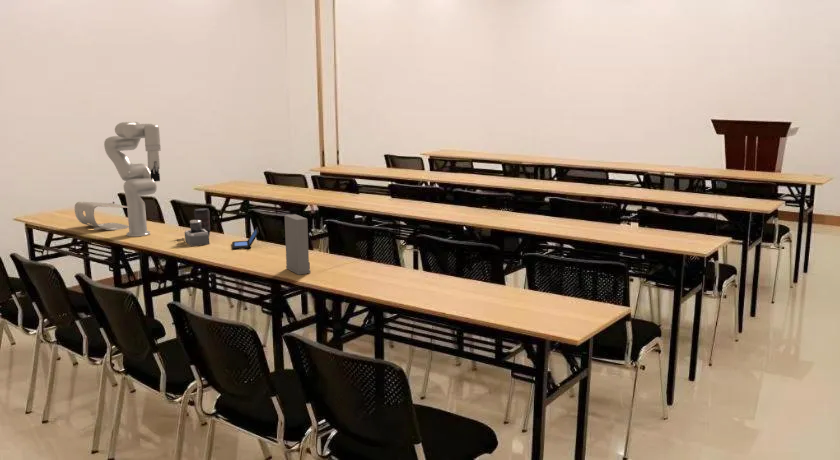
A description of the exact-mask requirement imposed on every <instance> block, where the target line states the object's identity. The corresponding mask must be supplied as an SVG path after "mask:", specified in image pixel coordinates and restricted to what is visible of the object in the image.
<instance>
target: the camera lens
mask: <svg viewBox="0 0 840 460" xmlns="http://www.w3.org/2000/svg"><path fill="white" fill-rule="evenodd" d="M210 215H211V214H210V210H209V208H196V209H194V220H201V227H202V229H205V230H206V231H207V232H208V235H209V236H210V235H211V234H210V233H211V222H210V221H211V220H210V218H211V217H210Z"/></svg>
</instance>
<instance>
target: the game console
mask: <svg viewBox="0 0 840 460" xmlns="http://www.w3.org/2000/svg"><path fill="white" fill-rule="evenodd" d="M259 232H260V231H259V227H258V226H256V227H255V229H254V230H253V232H252V234H251V235H250V237H249V238H248V239H247V240H239V241H232V245H231V246H232V247H231V248H232V250H233V251H235V250H236V251H237V250H249V249H250V250H251V248H252V244H253V243H254V241H255V239H256V238H257V236H258V234H259Z"/></svg>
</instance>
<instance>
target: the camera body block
mask: <svg viewBox="0 0 840 460" xmlns="http://www.w3.org/2000/svg"><path fill="white" fill-rule="evenodd" d="M184 242H185V243H186V244H188V245H189V246H190V247H194V246H204V245H210V235H208V232H207V231H206V230H205V229H202V232H199V233H191V229H188V230H185V231H184Z"/></svg>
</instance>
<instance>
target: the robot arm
mask: <svg viewBox="0 0 840 460" xmlns="http://www.w3.org/2000/svg"><path fill="white" fill-rule="evenodd" d="M114 132H115V134H116V135H115V136H109V137H107V138H105V140H104V141H103V143H104V144H103V147H104V151H105V153H106V156H107V157H108V158H109V159H110V161H111V162H112V163H113V164H114V166H115V169H116V171H117V172H118V174H119V176H120V179H121V180H122V181H124V183H123V191H124V195H125V200H126V206H127V210H126V211H127V221H128V226H129V228H128V232H126V236H127V237H144V236H148V235H150V234H151V231H149V230H148V226H147V224H148V223H147V214H146V203H145V201H144V200H143V198H142V197H141V196H148V195H153V194H156V192H157V187H158V186H157V183H156V182H160V181H161V175H160V166H161V165H160V164H161V163H160V155H159V153H160V151H161V137H160V127H159V125H158V124H153V123H140V122H138V121H128V122H127V121H125V122H124V121H123V122H119V123H117V124H116V126H115V127H114ZM141 139H144V143H145V144H144V146H145V152H147V165H146V164H145V163H132V162H131V160H130V158H129V156H127V155H126V153H123V151H124V152H125V151H126V152H127V151H134V150H136V149H137V148H138V146H139V144H140V142H141Z"/></svg>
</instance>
